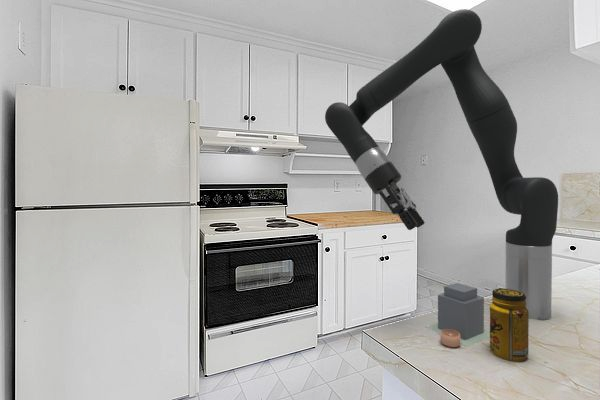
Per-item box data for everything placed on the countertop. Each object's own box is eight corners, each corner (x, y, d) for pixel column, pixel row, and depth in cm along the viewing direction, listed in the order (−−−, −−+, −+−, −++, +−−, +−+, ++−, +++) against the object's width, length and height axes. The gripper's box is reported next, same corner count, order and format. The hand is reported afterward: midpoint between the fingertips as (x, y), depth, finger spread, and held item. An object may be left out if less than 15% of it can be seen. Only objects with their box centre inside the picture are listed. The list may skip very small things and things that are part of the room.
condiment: (479, 347, 63) (479, 287, 62) (519, 344, 64) (519, 284, 63) (506, 368, 56) (507, 300, 55) (551, 364, 56) (552, 297, 56)
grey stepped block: (437, 328, 70) (437, 286, 70) (456, 321, 74) (456, 281, 73) (465, 340, 65) (465, 294, 64) (483, 332, 68) (483, 288, 68)
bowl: (443, 339, 66) (443, 327, 66) (462, 344, 64) (462, 332, 64) (438, 346, 63) (437, 333, 63) (457, 351, 61) (457, 338, 61)
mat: (455, 318, 76) (455, 317, 76) (497, 335, 67) (497, 334, 67) (425, 328, 71) (425, 326, 71) (466, 347, 62) (466, 346, 62)
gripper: (381, 157, 70) (426, 219, 65) (397, 163, 82) (436, 216, 77) (354, 177, 73) (395, 238, 68) (374, 181, 85) (410, 233, 80)
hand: (417, 226), depth 72 cm, fingers open, 8 cm apart
